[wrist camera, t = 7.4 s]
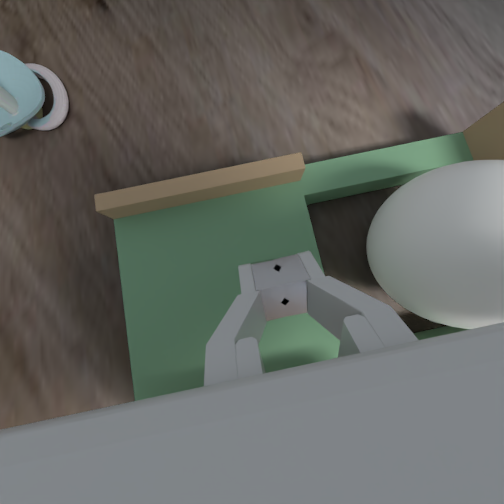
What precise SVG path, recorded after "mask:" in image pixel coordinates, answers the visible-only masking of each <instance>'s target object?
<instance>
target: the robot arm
mask: <svg viewBox="0 0 504 504" xmlns="http://www.w3.org/2000/svg"><path fill="white" fill-rule="evenodd" d="M238 270H239V279H240V287H241V294H240V295H237V297H236V298H235V300H234V302H233V303H232V305H231V306H230V308H229V310H228V311H227V313H226V314H225V316H224V317H223V319H222V321H221V322H220V324H219V325H218V327H217V329H216V330H215V332H214V333H213V335H212V336H211V338H210V340H209V341H208V343H207V344H206V353H205V372H204V386H203V387H198V388H194V389H189V390H184V391H179V392H175V393H170V394H165V395H161V396H156V397H151V398H147V399H142V400H137V401H133V402H128V403H123V404H119V405H114V406H109V407H105V408H100V409H95V410H91V411H86V412H81V413H76V414H72V415H67V416H62V417H58V418H53V419H48V420H44V421H39V422H34V423H29V424H25V425H20V426H15V427H11V428H6V429H1V430H0V504H504V322H502V323H497V324H493V325H488V326H483V327H479V328H474V329H469V330H465V331H460V332H455V333H451V334H446V335H441V336H437V337H432V338H427V339H423V340H418V339H417V337H416V336H415V335H414V334H413V333H412V331H411V330H410V329H409V328H408V327H407V325H406V324H405V323H404V322H403V320H402V319H401V318H400V317H399V316H398V314H397V313H396V312H395V311H394V310H393V308H392V307H391V306H389V305H387V304H385V303H383V302H381V301H379V300H377V299H375V298H373V297H371V296H369V295H367V294H365V293H363V292H361V291H359V290H357V289H355V288H353V287H351V286H349V285H347V284H345V283H343V282H341V281H339V280H337V279H335V278H333V277H331V276H325V275H324V273H323V271H322V270H321V268H320V266H319V265H318V263H317V262H316V260H315V258H314V257H313V255H312V253H311V252H310V251H305V252H301V253H297V254H293V255H288V256H284V257H279V258H275V259H269V260H264V261H258V262H253V263H251V264H250V263H248V264H243V265H239V266H238ZM303 313H308V314H309V315H310V316H311V317H312V318H313V319H315V320H316V321H317V322H318V323H319V324H321V325H322V326H323V327H324V328H325V329H327V330H328V331H329V332H330V333H331V334H333V335H334V336H335V337H336V338H337V339H339V340H340V346H339V352H338V358H333V359H329V360H324V361H319V362H315V363H310V364H306V365H301V366H296V367H292V368H287V369H282V370H278V371H273V372H268V373H266V372H265V368H264V364H263V361H262V357H261V353H260V349H259V346H258V345H259V342H260V339H261V337H262V334H263V331H264V328H265V326H266V323H267V322H266V321H270V320H274V319H278V318H283V317H287V316H292V315H298V314H303Z"/></svg>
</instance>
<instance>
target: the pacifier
mask: <svg viewBox="0 0 504 504" xmlns="http://www.w3.org/2000/svg"><path fill="white" fill-rule="evenodd" d="M38 78H41V79H44V80H46V81H47V82H48V83H49V84H50V86H51V88H52V91H53V95H54V104H53V108H52V110H51V112H50V113H49V114H48V115H47V116H46V117H43V118H42V116H43V111H42V106H43V103H44V100H45V92H44V89H43V86H42V84H41V82H40V81H39V79H38ZM68 109H69V100H68V96H67V92H66V90H65V87H64V85H63V83H62V82H61V81H60V79H59V78H58V77H57V75H55V74H54V73H53V72H52V71H51V70H49V69H47V68H46V67H44V66H42V65H38V64H34V63H31V64H24V63H22V62H21V61H20V60H18V59H17V58H15V57H13V56H12V55H10V54H8V53H6V52H3V51H1V50H0V137H1V136H4V135H7V134H9V133H11V132H13V131H16V130H18V129H19V128H23V129H33V128H34V129H38V130H42V131H44V130H52V129H54V128H57V127H58V126H59V125H60V124H62V123H63V121H64V120H65V118H66V116H67V113H68Z"/></svg>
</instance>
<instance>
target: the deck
mask: <svg viewBox="0 0 504 504" xmlns="http://www.w3.org/2000/svg"><path fill="white" fill-rule="evenodd" d="M474 160H504V102H503V103H501V104H500V105H499V106H497V107H496V108H494V109H493V110H492V111H490V112H489V113H488V114H486V115H485V116H484V117H482V118H481V119H480V120H478V121H477V122H475V123H474V124H473V125H471V126H470V127H469V128H467V129H466V130H465V131H463V132H460V133H455V134H450V135H445V136H441V137H436V138H431V139H426V140H421V141H416V142H412V143H407V144H402V145H397V146H392V147H387V148H382V149H378V150H373V151H368V152H363V153H358V154H353V155H349V156H344V157H339V158H334V159H329V160H324V161H320V162H315V163H310V164H304V160H303V156H302V153H301V152H299V153H295V154H290V155H285V156H280V157H275V158H270V159H265V160H261V161H256V162H251V163H246V164H241V165H236V166H231V167H227V168H222V169H217V170H212V171H207V172H202V173H197V174H193V175H188V176H183V177H178V178H173V179H168V180H163V181H159V182H154V183H149V184H144V185H139V186H134V187H129V188H125V189H120V190H115V191H110V192H105V193H100V194H95V195H94V197H95V207H96V212H99V213H101V214H103V215H105V216H107V217H110V218H112V219H114V227H115V235H116V244H117V252H118V261H119V269H120V278H121V286H122V295H123V303H124V312H125V320H126V329H127V337H128V346H129V354H130V363H131V371H132V380H133V388H134V397H135V401H137V400H142V399H147V398H151V397H156V396H161V395H165V394H170V393H175V392H179V391H184V390H189V389H194V388H198V387H203V386H204V372H205V353H206V344H207V343H208V341H209V340H210V338H211V336H212V335H213V333H214V332H215V330H216V329H217V327H218V325H219V324H220V322H221V321H222V319H223V317H224V316H225V314H226V313H227V311H228V310H229V308H230V306H231V305H232V303H233V302H234V300H235V298H236V297H237V295H240V294H241V287H240V279H239V270H238V266H239V265H243V264H248V263H250V264H251V263H253V262H258V261H264V260H269V259H275V258H279V257H284V256H288V255H293V254H297V253H301V252H305V251H310V252H311V253H312V255H313V257H314V258H315V260H316V262H317V263H318V265H319V266H320V268H321V270H322V271H323V273H324V270H323V267H322V263H321V259H320V255H319V251H318V247H317V243H316V240H315V236H314V232H313V228H312V224H311V220H310V216H309V213H308V209H307V205H308V204H313V203H317V202H322V201H327V200H332V199H337V198H341V197H346V196H351V195H356V194H361V193H365V192H370V191H375V190H380V189H384V188H389V187H394V186H399V185H404V184H406V183H407V182H409V181H410V180H412V179H414V178H415V177H418V176H420V175H422V174H424V173H426V172H429V171H431V170H433V169H437V168H440V167H443V166H446V165H451V164H455V163H460V162H465V161H474ZM324 275H325V274H324ZM266 322H267V323H266V326H265V328H264V331H263V334H262V337H261V339H260V342H259V345H258V346H259V349H260V353H261V357H262V361H263V364H264V368H265V372H266V373H268V372H273V371H278V370H282V369H287V368H292V367H296V366H301V365H306V364H310V363H315V362H319V361H324V360H329V359H333V358H338V352H339V346H340V340H339V339H337V338H336V337H335V336H334V335H333V334H331V333H330V332H329V331H328V330H327V329H325V328H324V327H323V326H322V325H321V324H319V323H318V322H317V321H316V320H315V319H313V318H312V317H311V316H310V315H309V314H308V313H303V314H298V315H292V316H287V317H283V318H278V319H274V320H270V321H266ZM465 330H469V329H464V328H457V327H451V326H445V327H440V328H436V329H431V330H426V331H422V332H417V333H413V334H414V335H415V336H416V337H417V339H418V340H423V339H427V338H432V337H437V336H441V335H446V334H451V333H455V332H460V331H465Z"/></svg>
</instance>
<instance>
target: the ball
mask: <svg viewBox="0 0 504 504" xmlns="http://www.w3.org/2000/svg"><path fill="white" fill-rule="evenodd" d="M366 249H367V258H368V263H369V266H370V268H371V271H372V273H373V275H374V277H375V279H376V280H377V282H378V283H379V285H380V286H381V287H382V289H383V290H384V291H385V292H386V293H387V294H388V295H389V296H390V297H391V298H392V299H393V300H394V301H396V302H397V303H398V304H400V305H401V306H402V307H404V308H405V309H407V310H409V311H411V312H413V313H415V314H416V315H418V316H420V317H422V318H425V319H428V320H430V321H433V322H436V323H440V324H444V325H448V326H451V327H457V328H464V329H474V328H479V327H483V326H488V325H493V324H497V323H502V322H504V160H474V161H465V162H460V163H455V164H451V165H446V166H443V167H440V168H437V169H433V170H431V171H429V172H426V173H424V174H422V175H420V176H418V177H415V178H414V179H412V180H410V181H409V182H407V183H406V184H404V185H403V186H401V187H400V188H399V189H397V190H396V191H395V192H394V193H393V194H392V195H391V196H390V197H389V198H388V199H387V200H386V201H385V202H384V203H383V204H382V206H381V207H380V208H379V210H378V211H377V213H376V214H375V216H374V218H373V220H372V223H371V225H370V228H369V231H368V236H367V244H366Z"/></svg>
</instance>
